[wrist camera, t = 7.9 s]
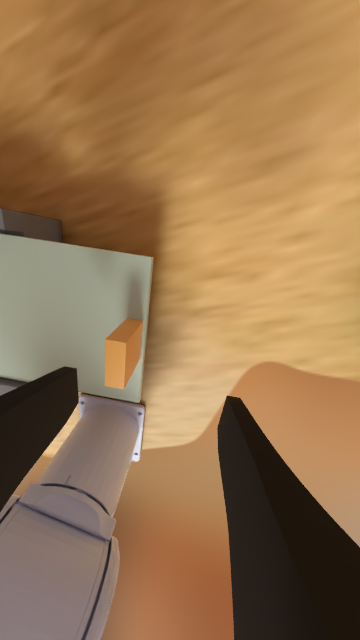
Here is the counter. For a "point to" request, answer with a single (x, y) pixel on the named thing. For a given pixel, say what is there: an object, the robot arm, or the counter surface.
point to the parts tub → (30, 228)
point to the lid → (74, 314)
